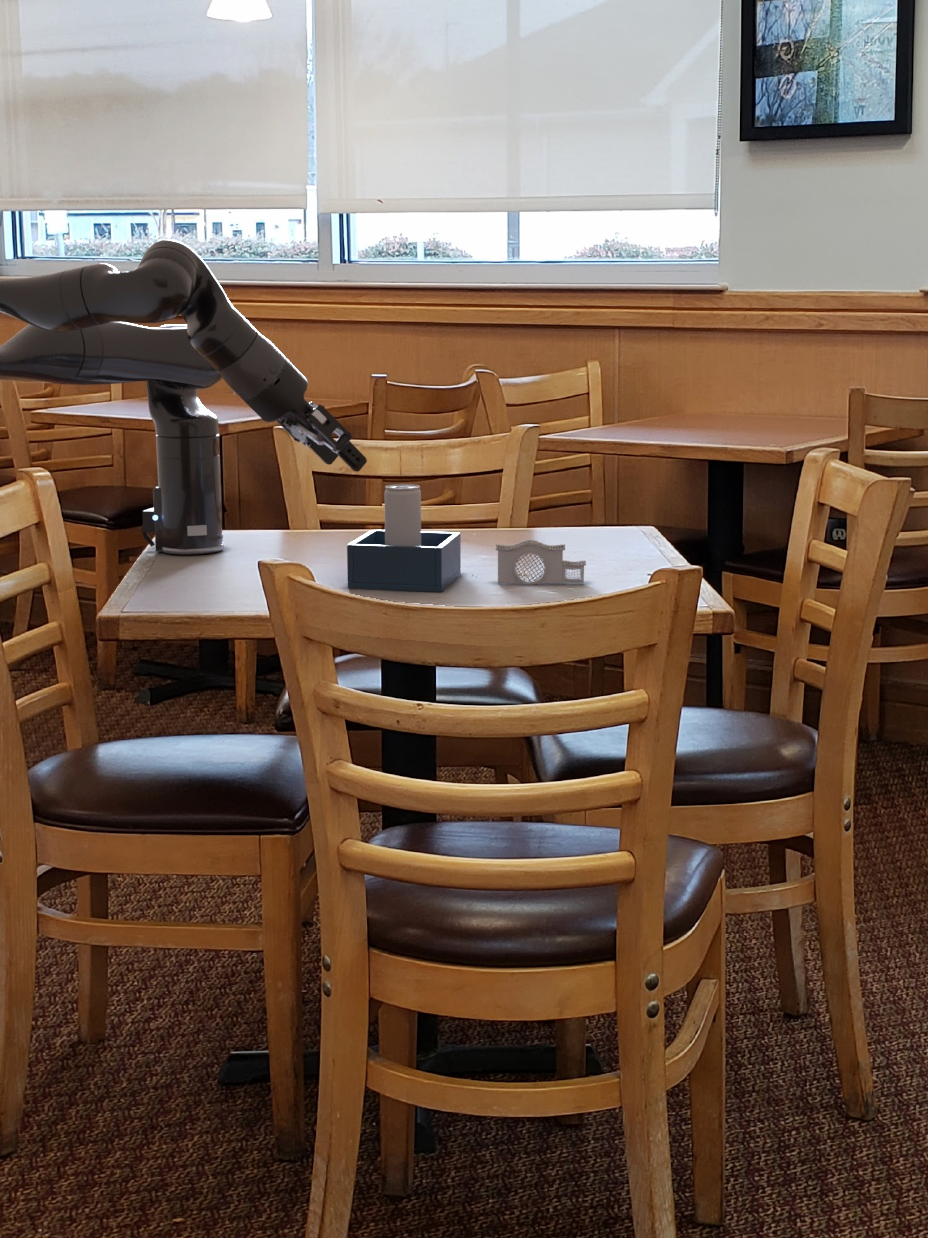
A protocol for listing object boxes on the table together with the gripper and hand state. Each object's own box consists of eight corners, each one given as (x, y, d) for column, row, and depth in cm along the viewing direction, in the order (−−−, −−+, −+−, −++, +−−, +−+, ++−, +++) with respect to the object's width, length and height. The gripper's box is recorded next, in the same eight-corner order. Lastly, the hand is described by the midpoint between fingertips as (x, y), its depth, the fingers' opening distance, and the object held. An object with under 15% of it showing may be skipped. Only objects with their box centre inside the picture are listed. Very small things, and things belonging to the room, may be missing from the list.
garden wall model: (584, 582, 196) (585, 538, 195) (585, 584, 195) (586, 540, 193) (495, 582, 196) (495, 538, 195) (495, 584, 195) (495, 540, 193)
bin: (347, 588, 192) (346, 544, 191) (371, 570, 204) (371, 529, 203) (441, 592, 190) (441, 547, 189) (460, 574, 202) (460, 532, 201)
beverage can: (416, 579, 194) (416, 489, 191) (381, 577, 195) (380, 488, 192) (424, 572, 199) (424, 484, 196) (390, 571, 200) (389, 483, 197)
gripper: (222, 394, 187) (307, 478, 195) (263, 401, 175) (352, 491, 183) (260, 351, 189) (343, 436, 196) (303, 355, 176) (390, 446, 184)
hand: (347, 462), depth 190 cm, fingers open, 8 cm apart
